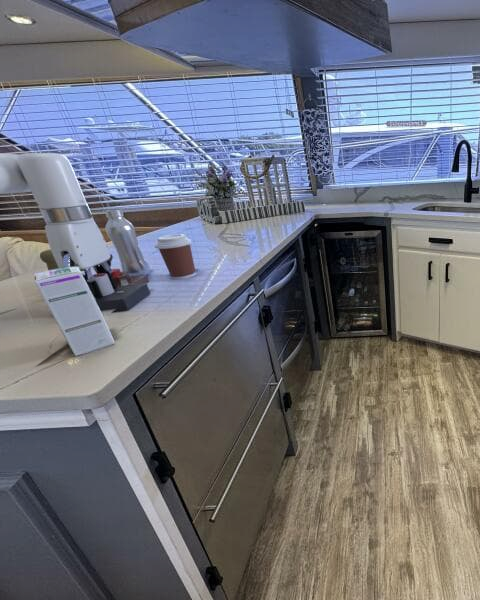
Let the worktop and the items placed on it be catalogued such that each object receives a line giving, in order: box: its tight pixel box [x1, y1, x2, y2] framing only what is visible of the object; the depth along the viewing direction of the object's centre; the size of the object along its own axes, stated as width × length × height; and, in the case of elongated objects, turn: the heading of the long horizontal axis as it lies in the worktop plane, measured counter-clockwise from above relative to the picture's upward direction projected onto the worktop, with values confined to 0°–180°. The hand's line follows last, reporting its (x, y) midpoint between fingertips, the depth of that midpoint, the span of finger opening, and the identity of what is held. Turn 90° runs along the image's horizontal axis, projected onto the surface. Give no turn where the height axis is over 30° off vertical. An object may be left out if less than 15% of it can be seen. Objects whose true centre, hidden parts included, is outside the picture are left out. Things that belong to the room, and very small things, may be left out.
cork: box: [39, 248, 59, 271], centre depth 90 cm, size 6×6×11 cm
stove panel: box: [95, 282, 151, 313], centre depth 77 cm, size 14×11×3 cm
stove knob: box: [92, 273, 114, 296], centre depth 76 cm, size 4×4×5 cm
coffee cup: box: [154, 233, 197, 280], centre depth 95 cm, size 9×9×12 cm
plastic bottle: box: [104, 208, 151, 276], centre depth 95 cm, size 6×7×20 cm
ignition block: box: [113, 271, 149, 286], centre depth 88 cm, size 11×9×4 cm
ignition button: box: [111, 268, 122, 277], centre depth 87 cm, size 4×4×2 cm
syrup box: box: [33, 266, 115, 357], centre depth 57 cm, size 6×6×14 cm
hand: (102, 292), depth 76 cm, fingers closed on stove knob, stove panel, 4 cm apart
